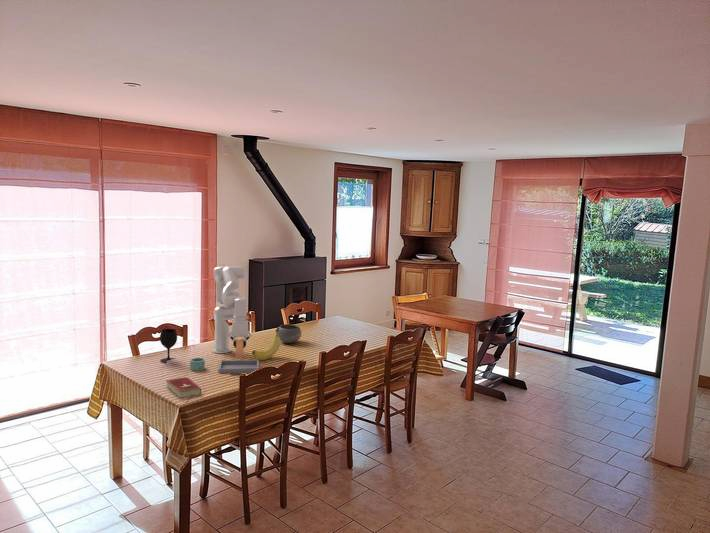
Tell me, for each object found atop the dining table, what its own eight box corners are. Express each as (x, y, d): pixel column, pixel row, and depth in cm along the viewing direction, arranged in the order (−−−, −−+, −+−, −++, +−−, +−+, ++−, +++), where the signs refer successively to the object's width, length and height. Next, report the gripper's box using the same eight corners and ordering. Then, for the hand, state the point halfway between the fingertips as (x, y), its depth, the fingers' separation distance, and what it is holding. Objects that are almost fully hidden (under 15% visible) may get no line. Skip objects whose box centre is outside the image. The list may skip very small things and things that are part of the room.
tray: (220, 365, 340) (220, 360, 339) (258, 365, 344) (258, 359, 344) (218, 374, 322) (218, 368, 322) (258, 373, 327) (258, 368, 326)
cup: (191, 368, 332) (191, 357, 331) (205, 367, 333) (205, 357, 333) (189, 372, 324) (189, 361, 323) (204, 372, 325) (204, 361, 324)
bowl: (303, 340, 410) (303, 324, 409) (298, 346, 393) (298, 329, 391) (280, 338, 412) (280, 322, 411) (274, 344, 394) (274, 328, 393)
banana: (255, 362, 349) (255, 332, 346) (249, 360, 352) (250, 331, 350) (281, 356, 365) (282, 328, 363) (276, 354, 369) (277, 326, 367)
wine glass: (180, 360, 346) (180, 330, 344) (167, 364, 337) (167, 333, 335) (169, 357, 351) (169, 327, 349) (156, 361, 342) (156, 330, 340)
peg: (235, 355, 334) (235, 338, 333) (243, 355, 335) (244, 338, 334) (235, 358, 329) (235, 340, 328) (243, 358, 330) (243, 340, 329)
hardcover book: (187, 383, 306) (187, 376, 305) (201, 394, 289) (201, 387, 289) (166, 387, 298) (166, 379, 298) (179, 398, 282) (179, 391, 281)
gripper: (254, 317, 335) (253, 345, 337) (226, 317, 331) (225, 345, 333) (254, 319, 327) (253, 348, 329) (225, 319, 324) (225, 348, 326)
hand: (239, 346), depth 331 cm, fingers closed on peg, 5 cm apart
